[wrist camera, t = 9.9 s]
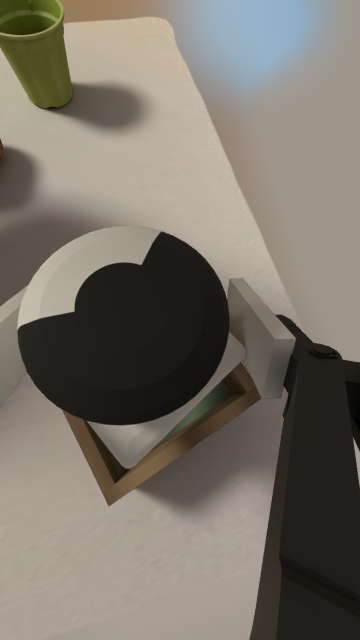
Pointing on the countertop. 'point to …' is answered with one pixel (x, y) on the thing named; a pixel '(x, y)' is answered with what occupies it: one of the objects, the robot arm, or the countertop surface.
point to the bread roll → (1, 148)
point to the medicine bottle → (127, 334)
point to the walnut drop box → (192, 429)
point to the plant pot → (37, 49)
